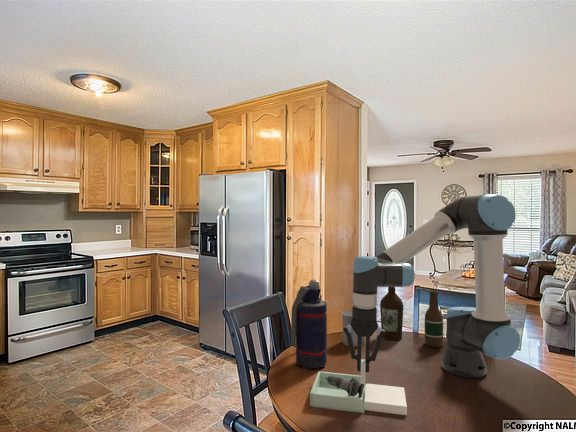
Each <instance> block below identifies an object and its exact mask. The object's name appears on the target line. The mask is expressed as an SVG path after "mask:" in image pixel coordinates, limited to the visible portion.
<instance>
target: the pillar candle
mask: <svg viewBox="0 0 576 432" xmlns="http://www.w3.org/2000/svg"><path fill="white" fill-rule="evenodd" d="M351 321H352V309H351V310H350V309H349V310H345V311H342V344H343V345H344V346H346V347H349V344H348V340H347V335H346V334H345V332H344V330H343V329H344V326H347V325H349V324H350V323H351ZM351 335H352V340H353V344H354V348H355V347H357V343H358V335H357V334H356V333H355V332H354V330H353V329H352V328H351ZM365 344H366V340H365V336H362V347H363V346H364V345H365Z"/></svg>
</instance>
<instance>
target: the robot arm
mask: <svg viewBox="0 0 576 432" xmlns="http://www.w3.org/2000/svg"><path fill="white" fill-rule="evenodd" d="M516 215H517V214H516V208H515V205H514V204H513V203H512V201H510V200H509V198H507V197H506V196H504V195H501V194H491V193H489V194H479V195H478V194H477V195H466V196H461V197H459V198H458V199H456V200H453V201H452V202H450V203H448V204H447V205H445V206H444V207H442V208H441V209H439V210H438V211H437V212H435V213H434V215H433V216H434V217H433V218H431V219H430V220H428V221H426V222H425V223H424V224H422V225H420V226H419V227H418V228H417V229H414V231H412V232H410V233H409V234H407V235H405V236H404V237H403V238H401V239H399V240H398V241H397V242H395V243H394V244H392V245H391V246H389V247H388V248H387V249H385V250H383V251H382V252H380V253H379V254H377V255H376V256H371V255H369V256H367V255H359V256H356V257H355V258H354V259H353V265H352V267H353V268H352V301H351V302H352V307H351V308H352V309H351V310H352V321H351V323H350V324H349V325H347V326H344V329H343V328H342V331H343V330H344V332H345V334H346V335H347V340H348V344H349V346H348V349H349V353H350V357H351V359H352V360H356V370H357V372H359V373H360V376H361V382H360V383H361V384H365V385H366V373H370V363H371V362H375V361H376V359H377V355H378V352H379V349H380V345H381V342H382V339H383V338H382V337H383V336H384V335H385V330H384V329H381V326H379V323H378V320H377V319H378V317H377V316H378V314H377V313H378V308H377V305H378V288H384V287H385V288H388V287H395V288H403V287H410V286H412V285H413V284H414V281H415V278H416V276H415V275H416V274H415V270H414V267H413V265H412V264H410V263H408V262H409V261H410V260H411V259H413V258H414V257H415V256H417V255H419V254H420V253H422V252H423V251H424V250H426V249H428V248H429V247H430V246H432V245H433V244H435V243H436V242H438V241H439V240H441V239H442V238H444V237H445V236H447V235H453V234H455V233H456V232H458V231H461V230H465V229H467V232H468V233H467V235H468V236H469V238H471V239H472V241H473V255H474V256H473V261H474V286H475V289H474V290H475V307H473V306H472V307H471V306H454V307H453V306H451V307H449V308H448V309H447V310H446V316H445V319H446V346H445V350H444V352H443V354H442V355H443V356H442V358H441V368H442V369H443V370H444V371H446V372H447V373H449V374H453V375H454V376H455V375H456V376H458V377H463V378H473V379H474V378H475V379H478V378H483V377H485V376H486V375H487V364H486V362H485V358H484V356H483V354H485V356H487V357H490V358H493V359H496V360H500V361H501V360H506V359H510V357H512V356H514V354H515V353H516V352H517V351H518V349H519V347H520V343H521V337H520V332H519V331H518V330H517V329H516V328H515V327H514V326H513V325H512V320H511V319H512V317H511V316H510V314H509V313H507V312H506V302H505V301H506V300H505V299H506V297H505V294H506V293H505V273H504V272H505V271H504V270H505V269H504V245H503V243H504V241H503V240H504V239H505V237H507V236H508V230H509V229H510V228H512V226H513V224H514V223H515V221H516ZM351 328H352V329H353V330H354V332H355V333H356V334H357V335H358V343H357V348H356V349H357V351H356V349H355V347H354V344H353V340H352V335H351ZM375 332H376V335H377V336H376V340H375V343H374V346H373V349H372V353H371V351H370V350H371V337H372V336H373V335H374V334H375ZM362 336H364V338H365V358H362V353H363V352H362V351H363V350H362V347H363V346H362ZM370 353H371V355H370Z"/></svg>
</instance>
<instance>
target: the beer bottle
mask: <svg viewBox="0 0 576 432" xmlns="http://www.w3.org/2000/svg"><path fill="white" fill-rule="evenodd" d="M428 293H429V304H428V308H427V310H426V312H425V313H424V344H425V345H426V346H428V347H431V348H441V347H443V346H444V317H443V314H442V312H441V311H440V307H439V298H438V297H439V291H438V290H435V289H431V290H429V292H428Z"/></svg>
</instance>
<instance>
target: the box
mask: <svg viewBox="0 0 576 432" xmlns="http://www.w3.org/2000/svg"><path fill="white" fill-rule="evenodd" d="M330 375H332V376H335V377H338V378H339V377H341V378H342V379H345V380H350V379H352V377H353V378H354V379H356V380H358V382H359V386H360V385H361V383H360V382H361V374H360V375H357V374H351V373H350V374H349V373H341V372H340V373H339V372H330V371H320V370H319V371H318V372H317V375H316V377H315V381H314V382H313V385H312V388H311V390H310V393H309V398H310V399H309V407H311V408H320V409H326V410H335V411H341V412H342V411H343V412H350V413H358V414H365V410H364V401H365V388H366V383H365V384H364V388H363V393H362V396H361V398H359V397H358V395H359V393H357V395H356V396H349V397H348V393H347V391H345V390H343V389H340V388H338V389H337V387H335V386H332V385H329V384H328V382H327V379H325V377H326V378H327V377H329V376H330Z"/></svg>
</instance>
